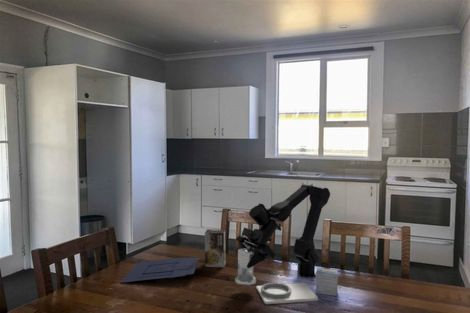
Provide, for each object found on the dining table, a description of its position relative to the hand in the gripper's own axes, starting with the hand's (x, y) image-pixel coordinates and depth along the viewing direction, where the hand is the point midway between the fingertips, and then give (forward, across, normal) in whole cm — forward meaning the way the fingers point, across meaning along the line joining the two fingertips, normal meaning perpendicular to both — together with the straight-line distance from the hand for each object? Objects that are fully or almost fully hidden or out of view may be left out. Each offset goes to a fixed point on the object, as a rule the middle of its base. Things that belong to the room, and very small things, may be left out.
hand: (242, 265), depth 139 cm
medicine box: (-11, +18, +27) cm, 34 cm away
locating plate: (-2, +10, +17) cm, 20 cm away
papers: (+20, -36, -4) cm, 41 cm away
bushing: (+4, 0, +6) cm, 7 cm away
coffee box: (+2, -32, +13) cm, 35 cm away
